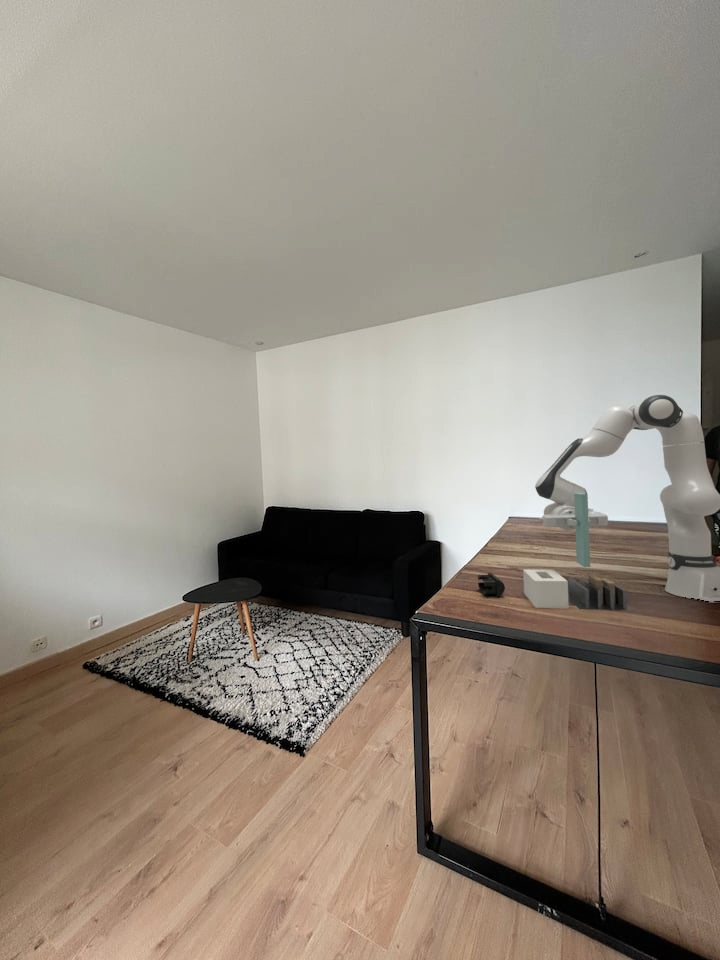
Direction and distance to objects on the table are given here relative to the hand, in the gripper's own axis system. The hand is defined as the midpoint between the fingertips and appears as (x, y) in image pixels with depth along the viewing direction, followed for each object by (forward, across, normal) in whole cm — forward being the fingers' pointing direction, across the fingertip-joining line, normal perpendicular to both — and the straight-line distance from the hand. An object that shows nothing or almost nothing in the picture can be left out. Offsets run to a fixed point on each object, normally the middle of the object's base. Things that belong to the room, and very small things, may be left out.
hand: (582, 523), depth 122 cm
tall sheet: (-1, 0, +14) cm, 14 cm away
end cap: (-11, -29, +28) cm, 41 cm away
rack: (-1, +3, +28) cm, 28 cm away
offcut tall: (-1, +3, +26) cm, 27 cm away
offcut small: (-1, +7, +26) cm, 27 cm away
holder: (-1, -13, +28) cm, 30 cm away
